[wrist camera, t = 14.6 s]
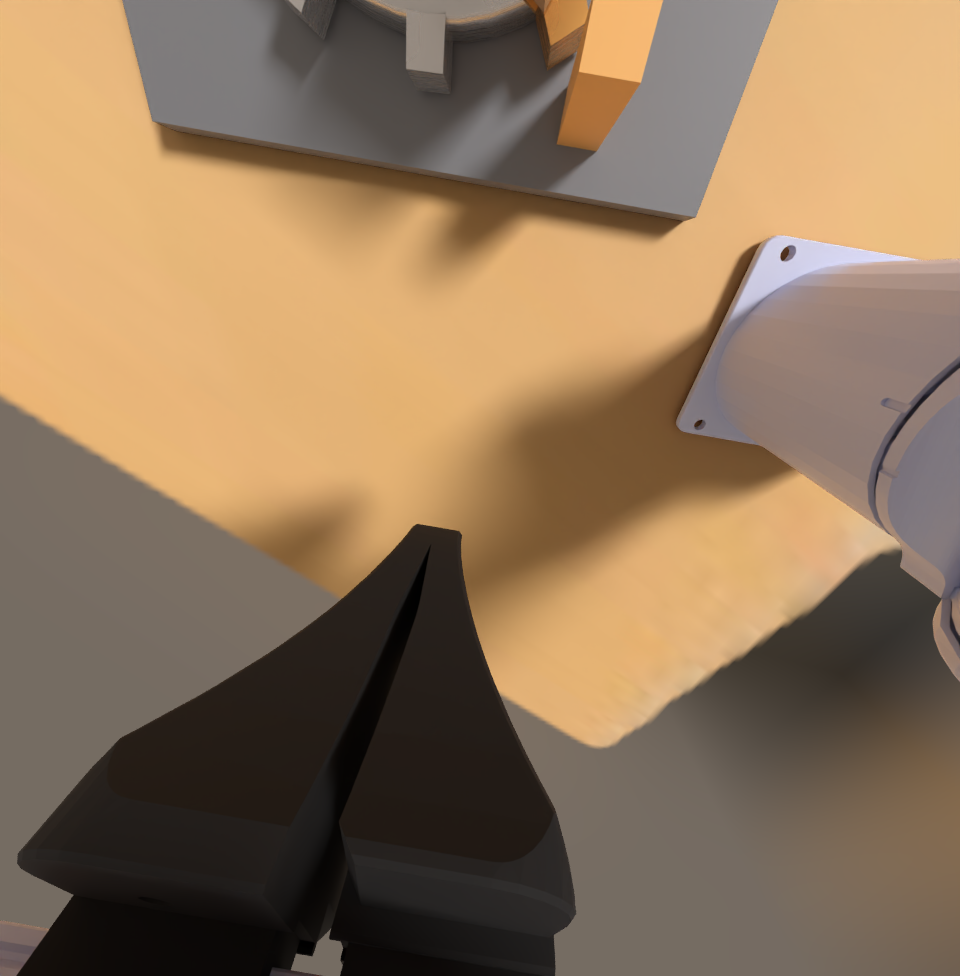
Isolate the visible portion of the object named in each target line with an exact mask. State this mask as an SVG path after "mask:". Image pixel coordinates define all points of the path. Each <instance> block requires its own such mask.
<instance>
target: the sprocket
mask: <svg viewBox="0 0 960 976" xmlns="http://www.w3.org/2000/svg"><path fill="white" fill-rule="evenodd" d="M284 1H285V2H286V3H287V4H288V6H289V7H290V8H291V9H292V10H293V11H294V12H295V13H296V14H297V15H298V16H299V17H300V18H301V19H302V20H303V21H304V22H305V23H306V24H307V25H308V26H309V27H310V28H311V29H312V30H313V31H315V32H316V33H317V34H318V35H319V36H320V37H321V38H322V39H323V40H324V41H325V38H326V35H327V31H328V28H329V25H330V22H331V19H332V15H333V12H334V9H335V6H336V3H337V0H284ZM346 1H347V2H348V3H350V4H351V5H352V6H354V7H355V8H357V9H358V10H360V11H362V12H363V13H365V14H366V15H368V16H369V17H371V18H372V19H374V20H375V21H377V22H378V23H380V24H383V25H385V26H387V27H390V28H392V29H394V30H396V31H399V32H401V33H403V34H405V35H406V70H407V71H408V73H409V75H410V77H411V79H412V81H413V83H414V85H415V86H416V88H417V90H418V91H426V92H433V93H441V94H448V95H451V77H452V58H453V43H467V42H473V41H479V40H485V39H491V38H495V37H498V36H501V35H504V34H506V33H509V32H512V31H514V30H517V29H520V28H522V27H525V26H526V25H528V24H530V23H532V22H533V21H535V20H536V24H537V28H538V33H539V37H540V42H541V46H542V50H543V55H544V59H545V64H546V68H547V71H548V70H549V69H551V68H552V67H554V66H555V65H557V64H558V63H560V62H562V61H563V60H565V59H566V58H568V57H569V56H571V55H572V54H574V53H576V52H577V51H578V47H579V43H580V40H581V36H582V32H583V29H584V25H585V21H586V18H587V14H588V5H587V0H550V2H549V4H548V6H547V7H546V9H545V11H544V12H543V11H542V10H541V9H540V8H539V6H538V5H537V4H536V3H535V2H534V1H533V0H346Z"/></svg>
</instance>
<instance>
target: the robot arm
mask: <svg viewBox="0 0 960 976" xmlns="http://www.w3.org/2000/svg"><path fill="white" fill-rule="evenodd" d="M785 247H788V248H789V254H788V256H787V257H786V259H785V260H783V261H782V260H781V258H780V255H781V252H782V251H783V249H784V248H785ZM698 420H702V423H701V424H700V425H699V426H697V427H694V424H695V423H696V422H697V421H698ZM676 425H677V427H678V428H679V429H680V430H681V431H683V432H686V433H692V434H698V435H703V436H709V437H715V438H720V439H726V440H732V441H737V442H743V443H749V444H754V445H760V446H762V447H764V448H765V449H767V450H768V451H770V452H771V453H772V454H774V455H775V456H777V457H778V458H780V459H781V460H783V461H784V462H785V463H787V464H788V465H790V466H791V467H793V468H794V469H796V470H797V471H798V472H800V473H801V474H803V475H804V476H806V477H807V478H809V479H810V480H811V481H813V482H814V483H816V484H817V485H819V486H820V487H822V488H823V489H824V490H826V491H827V492H829V493H830V494H832V495H833V496H834V497H836V498H837V499H839V500H840V501H842V502H843V503H845V504H846V505H847V506H849V507H850V508H852V509H853V510H855V511H856V512H858V513H859V514H860V515H862V516H863V517H865V518H866V519H868V520H869V521H871V522H872V523H873V524H875V525H876V526H878V527H879V528H881V529H882V530H884V531H885V532H886V533H888V534H890V535H891V536H893V537H894V538H895V539H896V540H897V541H898V542H899V543H900V545H901V547H902V551H903V558H902V561H901V564H900V567H901V568H902V569H904V570H905V571H906V572H908V573H909V574H910V575H912V576H913V577H914V578H915V579H917V580H918V581H920V582H921V583H922V584H923V585H925V586H926V587H927V588H929V589H930V590H931V591H933V592H934V593H935V594H937V595H938V596H939V597H941V598H942V600H941V602H940V604H939V605H938V607H937V609H936V612H935V615H934V619H933V630H934V639H935V641H936V644H937V647H938V649H939V651H940V654H941V656H942V658H943V659H944V660H945V662H946V664H947V665H948V667H949V668H950V670H951V671H952V673H953V674H954V675H955V677H956V678H957V679H958V680H959V681H960V259H940V260H919V259H913V258H907V257H902V256H896V255H890V254H885V253H879V252H874V251H868V250H862V249H857V248H851V247H845V246H840V245H834V244H828V243H823V242H817V241H811V240H806V239H800V238H795V237H789V236H783V235H780V236H772V237H770V238H767V239H766V240H764V241H763V242H762V243H761V244H760V246H759V247H758V249H757V251H756V253H755V255H754V257H753V259H752V261H751V263H750V265H749V267H748V270H747V272H746V274H745V276H744V278H743V280H742V282H741V284H740V287H739V289H738V291H737V293H736V295H735V297H734V299H733V301H732V303H731V306H730V308H729V310H728V312H727V314H726V316H725V318H724V320H723V322H722V325H721V327H720V329H719V331H718V333H717V335H716V337H715V339H714V342H713V344H712V346H711V348H710V350H709V352H708V354H707V356H706V358H705V361H704V363H703V365H702V367H701V369H700V371H699V373H698V375H697V377H696V380H695V382H694V384H693V386H692V388H691V390H690V392H689V394H688V396H687V399H686V401H685V403H684V405H683V407H682V409H681V411H680V413H679V416H678V418H677V421H676ZM461 538H462V535H461V533H460V532H459V531H455V530H449V529H443V528H437V527H432V526H426V525H420V524H416V525H415V526H413V527H412V529H411V530H410V531H409V532H408V534H407V535H406V536H405V537H404V538H403V540H402V541H401V542H400V543H399V544H398V545H397V546H396V547H395V549H394V550H393V551H392V552H391V553H390V554H389V555H388V556H387V557H386V558H385V559H384V560H383V561H382V562H381V563H380V564H379V565H378V566H377V567H376V568H375V569H374V570H373V571H372V572H371V573H370V574H369V575H368V576H367V577H366V578H365V579H364V580H363V581H361V582H360V583H359V584H358V585H357V586H356V587H355V588H354V589H353V590H352V591H350V592H349V593H348V594H347V595H346V596H345V597H344V598H342V599H341V600H340V601H339V602H338V603H336V604H335V605H334V606H333V607H332V608H330V609H329V610H328V611H327V612H325V613H324V614H323V615H321V616H320V617H319V618H317V619H316V620H315V621H314V622H312V623H311V624H310V625H308V626H307V627H306V628H304V629H303V630H301V631H300V632H298V633H297V634H296V635H294V636H293V637H291V638H290V639H289V640H287V641H286V642H284V643H283V644H281V645H280V646H279V647H277V648H276V649H274V650H273V651H271V652H270V653H268V654H267V655H265V656H263V657H262V658H260V659H259V660H257V661H256V662H254V663H252V664H251V665H249V666H247V667H246V668H244V669H243V670H241V671H239V672H238V673H236V674H235V675H233V676H231V677H229V678H228V679H226V680H225V681H223V682H221V683H220V684H218V685H217V686H215V687H213V688H211V689H210V690H208V691H206V692H205V693H203V694H201V695H199V696H198V697H196V698H194V699H192V700H190V701H189V702H186V703H185V704H183V705H181V706H179V707H177V708H175V709H174V710H172V711H170V712H168V713H166V714H164V715H163V716H161V717H159V718H157V719H155V720H153V721H152V722H150V723H148V724H146V725H144V726H142V727H141V728H139V729H137V730H135V731H133V732H131V733H129V734H127V735H125V736H124V737H122V738H120V739H119V740H118V741H117V742H116V743H115V744H114V746H113V747H112V748H111V749H110V750H109V751H108V752H107V753H106V754H105V755H104V756H103V757H102V758H101V759H100V760H99V761H98V762H97V763H96V764H95V765H94V766H93V767H92V768H91V769H90V771H89V772H88V773H87V774H86V775H85V776H84V777H83V779H82V780H81V781H80V782H79V783H78V784H77V785H76V787H75V788H74V789H73V790H72V791H71V792H70V794H69V795H68V796H67V797H66V798H65V799H64V801H63V802H62V803H61V804H60V805H59V806H58V808H57V809H56V810H55V811H54V812H53V814H52V815H51V816H50V817H49V818H48V819H47V820H46V822H45V823H44V824H43V825H42V826H41V827H40V829H39V830H38V831H37V832H36V833H35V834H34V836H33V837H32V838H31V839H30V840H29V841H28V843H27V844H26V845H25V846H24V847H23V848H22V849H21V851H20V852H19V853H18V860H17V864H18V865H19V866H20V868H21V869H23V870H24V871H26V872H28V873H30V874H31V875H33V876H35V877H37V878H39V879H42V880H44V881H46V882H48V883H50V884H52V885H54V886H56V887H58V888H60V889H62V890H65V891H67V892H69V893H71V894H73V895H74V896H73V897H72V898H71V900H70V901H69V903H68V904H67V905H66V907H65V908H64V910H63V911H62V912H61V914H60V915H59V917H58V918H57V919H56V921H55V922H54V923H53V925H52V926H51V928H50V929H48V928H42V927H36V926H30V925H24V924H18V923H12V922H7V921H1V920H0V976H321V975H315V974H309V973H303V972H297V971H291V967H292V964H293V961H294V958H295V955H296V954H302V955H308V956H313V953H314V951H315V947H316V944H317V941H318V940H320V939H321V938H322V937H323V936H324V935H325V934H326V933H327V932H328V931H329V930H330V929H331V932H330V936H329V939H330V940H336V941H341V943H342V946H343V951H342V955H341V962H342V964H343V967H342V971H341V975H340V976H555V951H554V934H556V933H557V932H559V931H560V930H562V929H564V928H565V927H567V926H568V925H569V924H570V922H571V921H572V919H573V918H574V916H575V915H576V909H575V896H574V889H573V883H572V877H571V872H570V866H569V862H568V857H567V852H566V848H565V844H564V840H563V836H562V832H561V829H560V825H559V821H558V818H557V814H556V811H555V808H554V806H553V804H552V802H551V800H550V799H549V797H548V795H547V793H546V791H545V789H544V787H543V785H542V783H541V782H540V780H539V778H538V776H537V774H536V772H535V770H534V768H533V766H532V764H531V762H530V760H529V758H528V756H527V755H526V752H525V750H524V748H523V746H522V744H521V742H520V740H519V738H518V735H517V733H516V731H515V729H514V727H513V725H512V723H511V721H510V718H509V716H508V714H507V711H506V709H505V707H504V704H503V702H502V699H501V697H500V695H499V692H498V690H497V688H496V685H495V683H494V680H493V678H492V675H491V673H490V670H489V667H488V664H487V662H486V659H485V656H484V653H483V650H482V647H481V644H480V641H479V638H478V635H477V632H476V628H475V625H474V621H473V618H472V614H471V610H470V606H469V602H468V597H467V592H466V587H465V581H464V576H463V569H462V560H461Z"/></svg>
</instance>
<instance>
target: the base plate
mask: <svg viewBox="0 0 960 976" xmlns="http://www.w3.org/2000/svg"><path fill="white" fill-rule="evenodd" d="M777 2H778V0H587V5H588V14H587V18H586V21H585V25H584V29H583V32H582V36H581V40H580V43H579V47H578V51H577V52H576V53H574V54H572V55H571V56H569V57H568V58H566V59H565V60H563V61H562V62H560V63H558V64H557V65H555V66H554V67H552V68H551V69H549V70H548V71H547V68H546V64H545V59H544V55H543V50H542V46H541V42H540V37H539V33H538V28H537V24H536V20H535V21H533V22H532V23H530V24H528V25H526V26H525V27H522V28H520V29H517V30H514V31H512V32H509V33H506V34H504V35H501V36H498V37H495V38H491V39H485V40H479V41H473V42H467V43H453V58H452V77H451V95H448V94H441V93H433V92H426V91H418V90H417V88H416V86H415V85H414V83H413V81H412V79H411V77H410V75H409V73H408V71H407V70H406V35H405V34H403V33H401V32H399V31H396V30H394V29H392V28H390V27H387V26H385V25H383V24H380V23H378V22H377V21H375V20H374V19H372V18H371V17H369V16H368V15H366V14H365V13H363V12H362V11H360V10H358V9H357V8H355V7H354V6H352V5H351V4H350V3H348V2H347V1H346V0H337V3H336V6H335V9H334V12H333V15H332V19H331V22H330V25H329V28H328V31H327V35H326V38H325V41H324V40H323V39H322V38H321V37H320V36H319V35H318V34H317V33H316V32H315V31H313V30H312V29H311V28H310V27H309V26H308V25H307V24H306V23H305V22H304V21H303V20H302V19H301V18H300V17H299V16H298V15H297V14H296V13H295V12H294V11H293V10H292V9H291V8H290V7H289V6H288V4H287V3H286V2H285V1H284V0H123V5H124V9H125V13H126V17H127V21H128V25H129V29H130V33H131V37H132V41H133V45H134V49H135V53H136V57H137V61H138V65H139V69H140V73H141V77H142V81H143V85H144V89H145V93H146V97H147V101H148V105H149V109H150V113H151V117H152V121H154V122H156V123H158V124H161V125H163V126H165V127H168V128H170V129H172V130H175V131H179V132H185V133H191V134H196V135H202V136H208V137H213V138H219V139H224V140H230V141H236V142H241V143H247V144H253V145H258V146H264V147H270V148H275V149H281V150H287V151H292V152H298V153H303V154H309V155H315V156H320V157H326V158H332V159H337V160H343V161H349V162H354V163H360V164H365V165H371V166H377V167H382V168H388V169H394V170H399V171H405V172H411V173H416V174H422V175H428V176H433V177H439V178H444V179H450V180H456V181H461V182H467V183H473V184H478V185H484V186H490V187H495V188H501V189H507V190H512V191H518V192H523V193H529V194H535V195H540V196H546V197H552V198H557V199H563V200H569V201H574V202H580V203H586V204H591V205H597V206H602V207H608V208H614V209H619V210H625V211H631V212H636V213H642V214H648V215H653V216H659V217H665V218H670V219H676V220H681V221H686V220H689V219H692V218H695V217H696V215H697V213H698V210H699V207H700V205H701V202H702V200H703V197H704V194H705V192H706V189H707V186H708V184H709V181H710V179H711V176H712V173H713V171H714V168H715V165H716V163H717V160H718V157H719V155H720V152H721V150H722V147H723V144H724V142H725V139H726V136H727V134H728V131H729V129H730V126H731V123H732V121H733V118H734V115H735V113H736V110H737V108H738V105H739V102H740V100H741V97H742V94H743V92H744V89H745V86H746V84H747V81H748V79H749V76H750V73H751V71H752V68H753V65H754V63H755V60H756V58H757V55H758V52H759V50H760V47H761V44H762V42H763V39H764V36H765V34H766V31H767V29H768V26H769V23H770V21H771V18H772V15H773V13H774V10H775V8H776V5H777Z"/></svg>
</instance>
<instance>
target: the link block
mask: <svg viewBox="0 0 960 976" xmlns="http://www.w3.org/2000/svg"><path fill="white" fill-rule="evenodd" d="M533 1H534V2H535V3H536V4H537V5H538V6H539V8H540V9H541V10H542V11H543V12H544V11H545V9H546V7H547V6H548V4H549V2H550V0H533Z"/></svg>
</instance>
